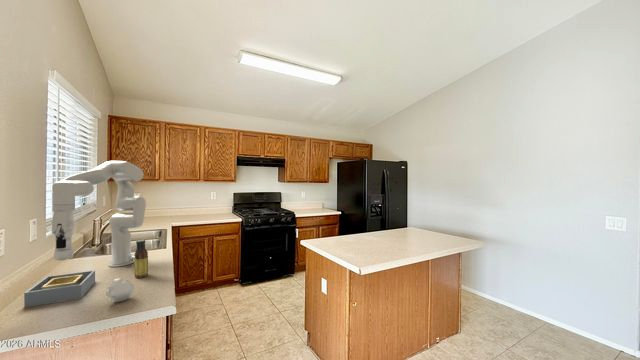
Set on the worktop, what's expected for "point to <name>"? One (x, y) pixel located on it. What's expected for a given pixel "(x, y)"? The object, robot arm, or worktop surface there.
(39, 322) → the worktop surface
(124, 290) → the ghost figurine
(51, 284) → the olive square tray
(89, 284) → the walled box
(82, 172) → the robot arm
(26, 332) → the worktop surface
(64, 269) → the worktop surface
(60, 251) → the plastic bottle
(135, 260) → the sauce bottle
